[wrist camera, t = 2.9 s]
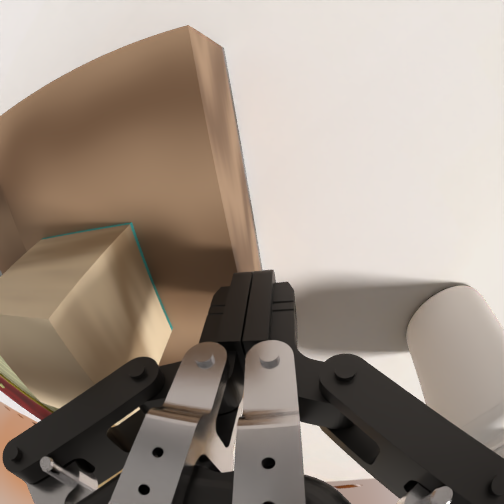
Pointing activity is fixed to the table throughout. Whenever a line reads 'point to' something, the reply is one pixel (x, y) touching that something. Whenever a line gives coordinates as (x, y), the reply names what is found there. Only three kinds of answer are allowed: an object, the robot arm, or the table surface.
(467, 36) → the table surface
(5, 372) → the hardcover book
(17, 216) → the walnut staircase
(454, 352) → the pill bottle
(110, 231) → the maple cube
